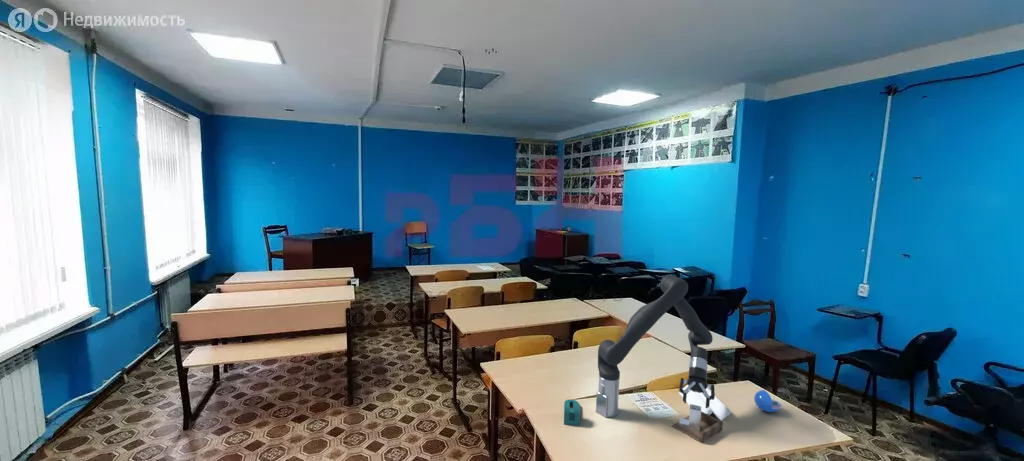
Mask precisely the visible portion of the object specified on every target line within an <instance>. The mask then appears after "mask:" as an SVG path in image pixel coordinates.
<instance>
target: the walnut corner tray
mask: <svg viewBox="0 0 1024 461" xmlns="http://www.w3.org/2000/svg"><path fill="white" fill-rule="evenodd" d="M683 419H686V420H689V415H688V416H686V417H684V418H683ZM670 425H671V426H670V427H672V428H674V429H676V430H677V431H679V432H681V433H682V434H684V435H686V436H688V437H690V438H691V439H693V440H695V441H697V442H699V443H700V444H703V443H705V442H706V441H708V440H709V439H711V438H713V437H714V436H716V435H718V434H719V433H722V432H723V425H724V422H723V420H722V421H720V420H719V419H718V418H717V417H714V416H711V414H710V415H708V414H706V413H704V412H702V411H701V421H700V431H696V430H692V429H688V428H684V427H680V426H679V425H680V420H678V421H677V422H674V423H672V424H670Z"/></svg>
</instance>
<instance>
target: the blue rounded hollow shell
mask: <svg viewBox="0 0 1024 461" xmlns="http://www.w3.org/2000/svg"><path fill="white" fill-rule="evenodd" d="M753 400H754V403H755V405H756V406H757V408H758V409H759V410H762V411H763V412H766V413H774V412H778V411H780V409H781V408H782V407H783V405H782V403H781V402H779V401H777V400H775V399H773V398H772V397H771V396H770V394H769V393H768V392H767V391H766V390H764V389H761V390H758V391H757V392H756V393H755V394H754V397H753Z"/></svg>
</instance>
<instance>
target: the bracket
mask: <svg viewBox="0 0 1024 461" xmlns="http://www.w3.org/2000/svg"><path fill="white" fill-rule="evenodd" d="M563 406H564V407H563V425H567V426H575V427H580V422H581V404H580V403H579V401H578V400H575V399H570V398H569V399H566V400H565V401H564V405H563ZM570 406H572V407H573V408H572V407H570Z"/></svg>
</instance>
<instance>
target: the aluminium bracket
mask: <svg viewBox="0 0 1024 461" xmlns="http://www.w3.org/2000/svg"><path fill="white" fill-rule="evenodd" d="M688 416H689V420H686V419H684V418H682V417H680V418H679V421H680V425H679V426H680V427H684V428H688V429H692V430H696V431H700V421H701V406H697V405H693V404H690V406H689V415H688Z"/></svg>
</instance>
